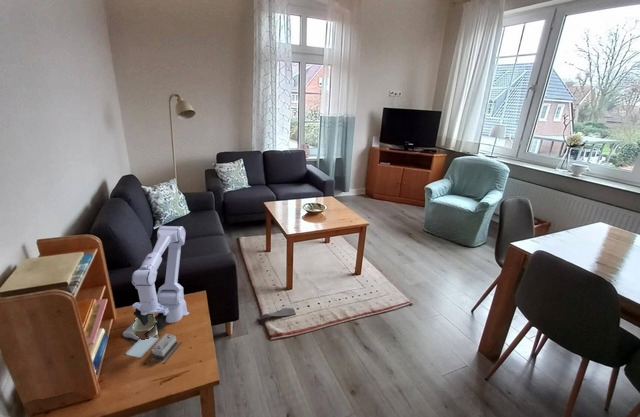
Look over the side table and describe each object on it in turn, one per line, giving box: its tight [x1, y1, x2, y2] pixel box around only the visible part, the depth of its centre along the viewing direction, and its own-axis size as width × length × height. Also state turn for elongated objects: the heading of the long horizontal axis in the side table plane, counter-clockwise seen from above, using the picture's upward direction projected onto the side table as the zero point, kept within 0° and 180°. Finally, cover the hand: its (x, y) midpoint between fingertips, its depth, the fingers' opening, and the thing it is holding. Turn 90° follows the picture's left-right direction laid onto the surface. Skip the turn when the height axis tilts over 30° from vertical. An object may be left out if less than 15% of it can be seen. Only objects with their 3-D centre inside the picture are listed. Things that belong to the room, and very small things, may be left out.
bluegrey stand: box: [124, 336, 160, 359], centre depth 123 cm, size 7×10×2 cm
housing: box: [151, 333, 178, 360], centre depth 120 cm, size 8×4×5 cm, turn 168°
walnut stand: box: [148, 342, 182, 364], centre depth 121 cm, size 7×10×2 cm
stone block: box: [122, 321, 158, 341], centre depth 132 cm, size 12×5×10 cm
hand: (154, 325), depth 122 cm, fingers open, 7 cm apart
